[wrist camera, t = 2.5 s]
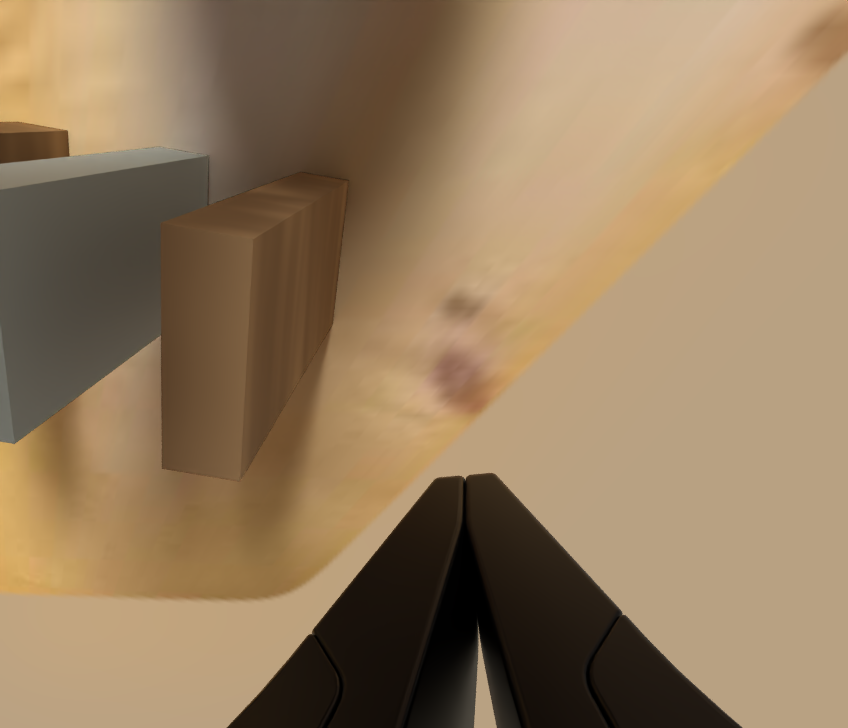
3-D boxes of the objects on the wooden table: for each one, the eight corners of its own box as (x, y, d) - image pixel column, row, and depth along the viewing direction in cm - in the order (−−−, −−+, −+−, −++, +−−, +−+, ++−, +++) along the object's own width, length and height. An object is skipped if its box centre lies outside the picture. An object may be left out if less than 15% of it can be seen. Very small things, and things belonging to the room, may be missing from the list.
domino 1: (208, 155, 19) (-16, 192, 10) (205, 301, 21) (14, 443, 12) (159, 146, 19) (-110, 175, 10) (160, 294, 21) (-65, 430, 12)
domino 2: (348, 180, 19) (253, 239, 10) (332, 323, 21) (240, 481, 12) (300, 172, 19) (160, 222, 10) (288, 316, 21) (161, 468, 12)
